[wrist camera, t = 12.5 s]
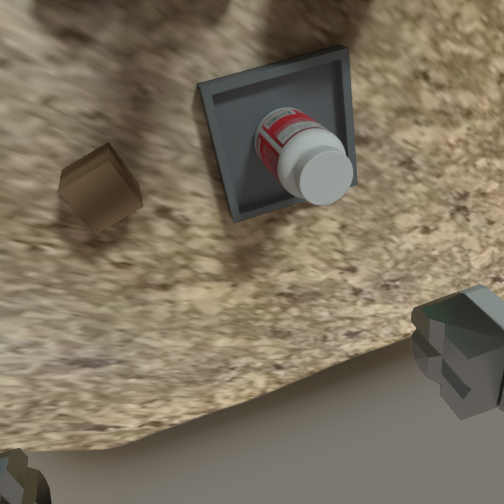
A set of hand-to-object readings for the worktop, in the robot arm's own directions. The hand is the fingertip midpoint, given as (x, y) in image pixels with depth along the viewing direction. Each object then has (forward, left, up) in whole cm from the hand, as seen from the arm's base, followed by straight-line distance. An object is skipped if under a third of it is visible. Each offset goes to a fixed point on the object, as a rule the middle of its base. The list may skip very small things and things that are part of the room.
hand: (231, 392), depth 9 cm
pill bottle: (+10, +12, -36) cm, 40 cm away
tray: (+10, +12, -37) cm, 40 cm away
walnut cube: (+9, -6, -37) cm, 38 cm away
